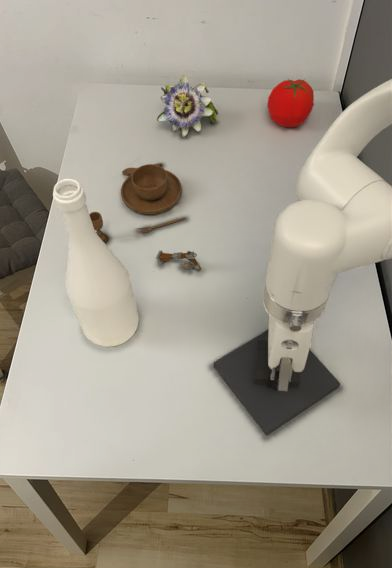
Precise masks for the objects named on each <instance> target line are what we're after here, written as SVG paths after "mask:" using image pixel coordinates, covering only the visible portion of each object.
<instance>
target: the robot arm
mask: <svg viewBox="0 0 392 568" xmlns="http://www.w3.org/2000/svg"><path fill="white" fill-rule="evenodd" d="M389 126H392V78H391V79H388V80H387V81H384V82H382V83H381V84H379V85H378V86H376V87H374V88H373V89H371V90H369V91H368V92H366V93H365V94H363V95H361V96H360V97H359V98H358V99H356V100H355V101H353V102H351V103H350V104H349V105H348V106H347V107H346V108H345V109H344V110H343V111H342V112H341V113H340V114H339V115H337V117H336V119H335V120H334V121H333V122H332V123H331V125H330V126H329V128H328V129H327V130H326V132H325V133H324V134H323V135H322V137H321V138H320V140H319V141H318V143H317V144H316V145H315V147H314V148H313V150H312V151H311V152H310V154H309V156H308V157H307V159H306V161H305V162H304V163H303V165H302V167H301V169H300V171H299V174H298V176H297V179H296V183H295V194H296V198H297V200H298V201H295V202H292V203H290V204H289V205H288V206H286V207H285V208H284V209H283V210H282V211H281V212H280V213H279V215H278V216H277V218H276V220H275V223H274V227H273V231H272V238H271V244H270V251H269V257H268V264H267V270H266V275H265V283H264V288H263V296H262V304H263V307H264V310H265V312H266V313H267V315H268V316H269V317H268V329H269V331H268V366H269V367H270V368H271V371H270V372H269V374H268V378H267V383H266V387H268V388H272V389H273V390H278V391H287V390H288V388H289V385H290V381H291V378H292V370H294V372H302V371H303V370H304V368H305V364H306V360H307V356H308V352H309V349H310V348H311V344H312V340H313V334H314V327H315V323H316V322H317V321H318V320H319V319H320V318H321V317H322V315H323V313H324V312H325V309H326V306H327V303H328V300H329V297H330V295H331V292H332V289H333V285H334V283H335V280H336V277H337V275H338V274H340V273H343V272H346V271H347V272H348V271H349V270H353V269H357V268H361V267H364V266H365V267H366V266H369V265H372V264H376V263H379V262H383V261H385V260H391V259H392V185H390V184H389V183H388V182H387V181H386V180H385V179H384V178H383V177H382V176H380V175H379V174H377V172H375V171H374V170H373V169H372V168H370V167H369V166H367V165H366V164H365V163H364V162H363V161H362V160H360V159H359V158H358V157H359V155H360V154H361V153H362V151H363V150H364V149H365V148H366V146H367V145H368V144H369V143H370V142H371V141H372V140H373V139H374V137H376V136H377V135H378V134H379V133H381V132H382V131H384V130H385V129H387V128H388V127H389ZM276 367H280V371H276Z"/></svg>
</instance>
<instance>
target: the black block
mask: <svg viewBox="0 0 392 568" xmlns="http://www.w3.org/2000/svg"><path fill="white" fill-rule="evenodd" d="M267 356H268V341H265V340H257V344H256V357H255V372H254V384H258V385H266V383H267V378H268V374H269V372H270V371H271V370H266V365H267ZM300 379H301V372H294V370H292V378H291V381H290V385H289V387H290V388H299V385H300Z"/></svg>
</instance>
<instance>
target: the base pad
mask: <svg viewBox="0 0 392 568" xmlns="http://www.w3.org/2000/svg"><path fill="white" fill-rule="evenodd" d="M268 331H269V328H268V329H267V330H265V331H263V332H262V333H260V334H258V335H256V336H255V337H253V338H251V339H250V340H248V341H247V342H245V343H243V344H241V345H240V346H238V347H237V348H235V349H233V350H232V351H230V352H229V353H227V354H225V355H223V356H222V357H220V358H218V359H217V360H215V361H214V362H213V368H214V370H216V372H217V374H219V376H220V377H221V378H222V380H223V381H224V382H225V384H226V385H227V386H228V387H229V389H230V390H231V391H232V393H233V394H234V395H235V397H236V398H237V399H238V400H239V402H240V404H241V405H242V406H244V408H245V410H246V411H247V412H248V413H249V415H250V416H251V417H252V419H253V420H254V422H255V423H256V424H257V425H258V427H259V428H260V429H261V430H262V432H263V433H264V434H265V436H269V435H271V434H272V433H273V432H275V431H276V430H278V429H280V428H281V427H282V426H284V425H285V424H286V423H288V422H290V421H291V420H293V419H294V418H296V417H297V416H299V415H300V414H302V413H303V412H305V411H306V410H307V409H309V408H311V407H313V405H315V404H317V403H318V402H320V401H321V400H323V399H324V398H326V397H327V396H329V395H330V394H332V393H333V392H335V391H336V390H338V389H339V388H340V386H341V382H340V381H339V380H338V379H337V378H336V377H335V376H334V375H333V373H331V371H330V370H329V369H328V368H327V367H326V365H324V364H323V362H322V361H321V360H320V359H319V358H318V357H317V356H316V354H315V353H314V352H313V351H312V350H311V349H310V348H309V352H308V356H307V360H306V364H305V368H304V370H303V371H302V372H301V379H300V385H299V388H290V387H289V388H288V390H287V391H278V390H273V389H272V388H268V387H266V385H258V384H254V372H255V357H256V344H257V340H265V341H268ZM266 370H271V368H270V367H269V366H268V356H267V365H266ZM276 371H280V367H276Z"/></svg>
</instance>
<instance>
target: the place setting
mask: <svg viewBox="0 0 392 568" xmlns="http://www.w3.org/2000/svg"><path fill="white" fill-rule="evenodd" d="M161 165H163V164H162V163H161V162H160V163H154V164H152V163H149V164H144V165H140V166H139V167H127V168H125V169H123V170H122V171H121V173H122V175H125V176H127V175H128V176H127V177H126V178H125V179H124V181H123V182H122V185H121V186H120V187H121V188H120V196H121V199H122V201H123V203H124V204H125V206H126V207H128V208H129V209H130V210H132V211H134V212H136V213H138V214H142V215H158V214H162V213H164V212H166V211H168V210H170V209H173V207H174V206H175V205H176V204H177V203H178V201H179V200H180V198H181V195H182V191H183V189H182V183H181V181H180V179H179V177H177V175H175V173H173V172H171V171H169V170H167V169H165V168H163V167H162V166H161ZM89 215H90V218H91V221H92V224H93V227H94V230H95V232H96V233H97V235H98V236H99V237H100V239H101V240H102V241H103V242H104V243H105V244H107V242H108V241H109V236H108V234H107V233H104V232H103V231H102V229H103V227H104V220H103V217H102V214H101V212H99V211H91V212H89ZM183 220H186V217H181V218H176V219H173V220H170V221H169V220H168V221H166V222H163V223H159V224H156V225H153V226H145V227H137V228H136V232H137V233H138V234H145V233H150V232H152V231H153V230H154V229H156V228H160V227H163V226H168V225H170V224H171V225H172V224H173V223H177V222H181V221H183Z"/></svg>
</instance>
